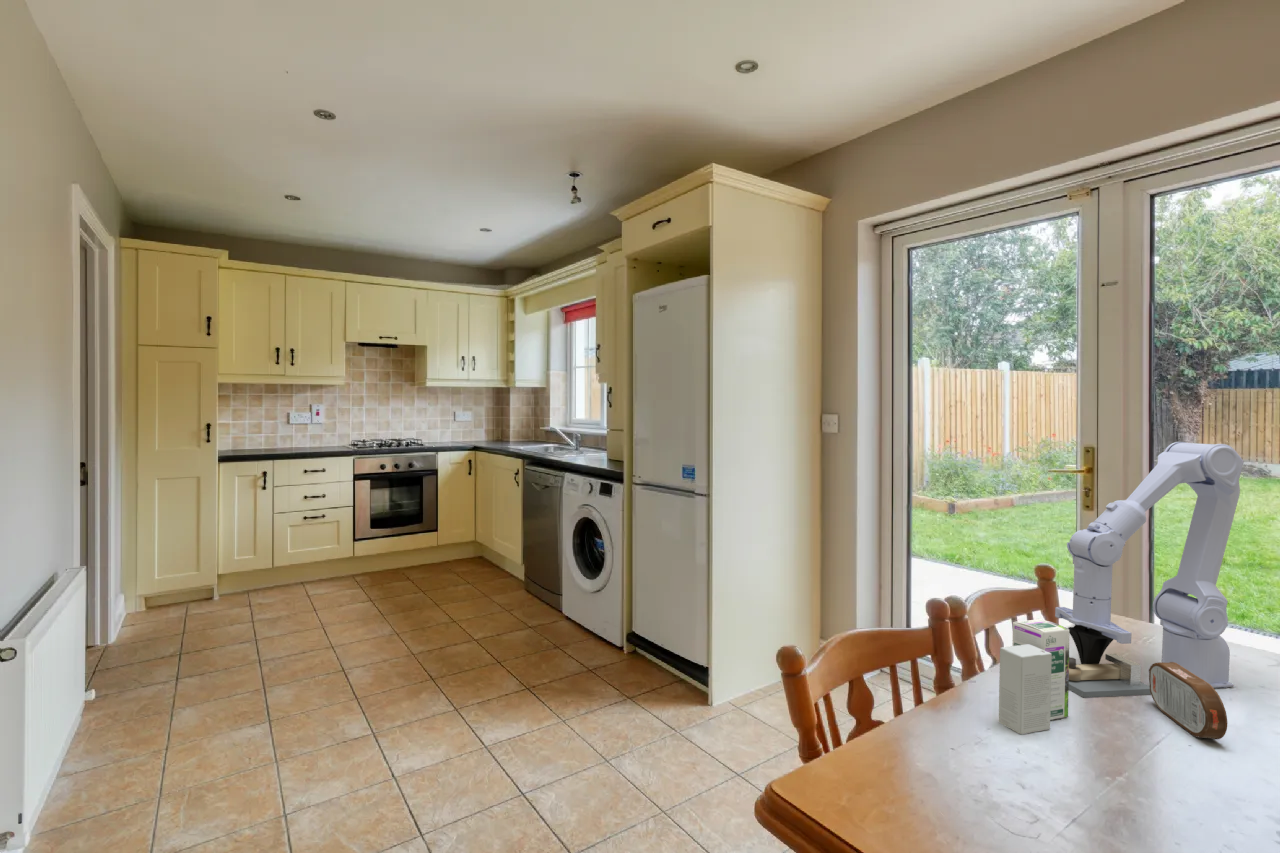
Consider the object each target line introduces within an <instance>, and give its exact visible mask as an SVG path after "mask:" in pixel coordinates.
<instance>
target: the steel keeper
mask: <svg viewBox="0 0 1280 853" xmlns="http://www.w3.org/2000/svg"><path fill="white" fill-rule="evenodd" d="M1104 656H1105V659H1104V660H1106V661H1108V662H1110V663H1111V664H1114V663H1115V664H1117V665H1119V666H1121V675H1120V681H1121V682H1123V683H1125V684H1127V685H1129V686H1140V683H1141V678H1142V677H1141V676H1142V664H1140V663H1138V662H1135V661H1133V660H1131V659H1128V658H1126V657H1124V656H1122V655H1119V654H1117V653H1105V655H1104Z"/></svg>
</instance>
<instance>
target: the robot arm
mask: <svg viewBox="0 0 1280 853" xmlns="http://www.w3.org/2000/svg"><path fill="white" fill-rule="evenodd" d="M1244 462H1245V461H1244V460H1243V458H1242V457H1241V455H1240V454H1239V453H1238V452H1237V450H1235V448H1234V447H1233V446H1231V445H1229V444H1226V443H1216V444H1215V443H1214V444H1213V443H1196V442H1194V443H1193V442H1187V441H1175V442H1173V443H1170V444H1168V446H1167V447H1165V449H1164V451H1162V452H1161V453H1159V454H1158V455H1157V463H1156V465H1155V466H1154V467H1153V468H1152V470H1151V471H1150V472H1149V473H1148V474H1147V475H1146V476H1145V477H1144V479H1143V480H1142V481H1141V482H1140V483H1139V485H1138V486H1136V488H1135V489H1134V490H1133V492H1132V493H1131V494H1130V495H1128V497H1127V498H1126V499H1122V500H1120V499H1119V500H1115V501H1113V502H1109V503H1108V504H1107V505H1106V506H1105V508H1106V509H1104V511H1103V512H1102V513H1101V514H1100V515H1099V516H1097V518H1096V519H1095V520H1094V521H1092V522H1090V523H1089V524H1088V525H1087V527H1086V528H1085V529H1084V528H1083V529H1079V530H1077V531H1075V532H1074V534H1072V535H1071V537H1070V539H1069V541H1068V542H1066V547H1067V550H1068V552H1069V554H1070V555H1071V557H1072V565H1073V566H1074V568H1073V589H1072V590H1073V592H1072V593H1073V596H1072V597H1073V598H1072V608H1068V607H1065V606H1055V611H1054V612H1055V613H1054V614H1055V615H1054V618H1058V619H1063V620H1066V621H1068V623H1070V624H1073V626H1069V627H1067V628H1068V629H1069V636H1071V638H1072V640H1073V642H1074V645H1075V647H1076V650H1077V653H1078V657H1079V662H1080V664H1100V661H1101V659H1102V658H1103V655H1104V653H1105V652H1106V650H1107V648H1108V647H1109V645H1110V644H1111V643H1112V642H1113V641H1114V640H1115V641H1116V643H1118V644H1121V645H1124V644H1125V645H1126V644H1132V632H1130V631H1129V630H1126V629H1124V628H1122V627H1121V626H1120V625H1117V624H1116V623H1114V622H1113V621H1111V617H1112V616H1111V615H1112V593H1113V592H1112V590H1113V565H1114V564H1115V563H1116V562H1118V561H1120V560H1121V558H1122V556H1123V549H1124V547H1125V546H1126V542H1127V541H1128V540H1129V539H1130V538H1131V537H1132V536H1133V535H1134V534H1135V533H1136V532H1137V531H1139V529H1140V528H1141V527H1142V526H1143V525H1144V524H1145V523H1146V522H1147V516H1146V512H1147V511H1148V510H1150V508H1152V507H1153V506H1155V504H1157V503H1158V502H1159V501H1160V500H1161V499H1163V498H1164V497H1165V496H1166V495H1167V494H1168V493H1170V492H1171V491H1172V490H1173V489H1174V488H1176V487H1177V486H1178V485H1179V484H1180V485H1181V484H1186V485H1188V486H1190V488H1191V489H1192V490H1193V491H1194V492H1195V494H1196V495H1197V497H1196V501H1195V505H1194V509H1193V512H1192V517H1191V521H1190V524H1189V528H1188V532H1187V536H1186V540H1185V543H1184V547H1183V551H1182V555H1181V559H1180V562H1179V567H1178V570H1177V574H1176V575H1175V576H1173V577H1170V578H1169V579H1167V580H1165V581H1164V582H1163V583H1162V587H1161V589H1160V591H1159V592H1158V593H1157V594H1156V596H1155V597H1154V599H1153V602H1152V611H1153V613H1154V615H1155V616H1156V617H1157V619H1159V621H1160V622H1159V625H1160V626H1162V640H1161V641H1162V642H1161V643H1162V645H1161V648H1162V649H1161V662H1162V663H1169V662H1175V663H1177V664H1179V665H1180V666H1182V667H1183V668H1185V669H1187V670H1188V671H1190V672H1191V673H1193V674H1195V675H1196V676H1198V677H1199V678H1201V679H1203V680H1204V681H1206V682H1207V683H1209V684H1210V685H1211V686H1212V687H1213V688H1214V689H1215V688H1233V687H1234V685H1235V684H1234V683H1232V682H1230V680H1229V678H1230V656H1231V655H1230V646H1229V645H1228V643H1227V641H1226V640H1225V639H1224V638H1223V637H1222V636H1221V635H1222V634H1223V633H1224V632H1225V630H1226V629H1227V626H1228V623H1229V618H1228V614H1227V607H1228V603H1229V601H1228V599H1227V598H1226V596H1225V595H1224V594H1223V593H1222V592H1221V590H1220V589H1219V587H1217V583H1218V580H1219V579H1218V578H1219V575H1220V571H1221V568H1222V564H1223V559H1224V556H1225V552H1226V547H1227V543H1228V540H1229V537H1230V533H1231V529H1232V526H1233V525H1232V524H1233V521H1234V517H1235V513H1236V510H1237V507H1238V502H1239V499H1240V494H1241V486H1240V478H1241V473H1242V472H1243V471H1242V470H1243V467H1244V466H1243V465H1244ZM1190 595H1192V596H1190ZM1193 596H1194V597H1193Z"/></svg>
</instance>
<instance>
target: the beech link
mask: <svg viewBox="0 0 1280 853" xmlns="http://www.w3.org/2000/svg"><path fill="white" fill-rule="evenodd" d="M1076 664H1077V659H1076V658H1074V657H1070V656H1069V680H1072V681H1080V680H1101V679H1120V675H1121V666H1119V665H1117V664H1115V663H1099V664H1081V663H1080V664H1081V665H1076Z"/></svg>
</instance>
